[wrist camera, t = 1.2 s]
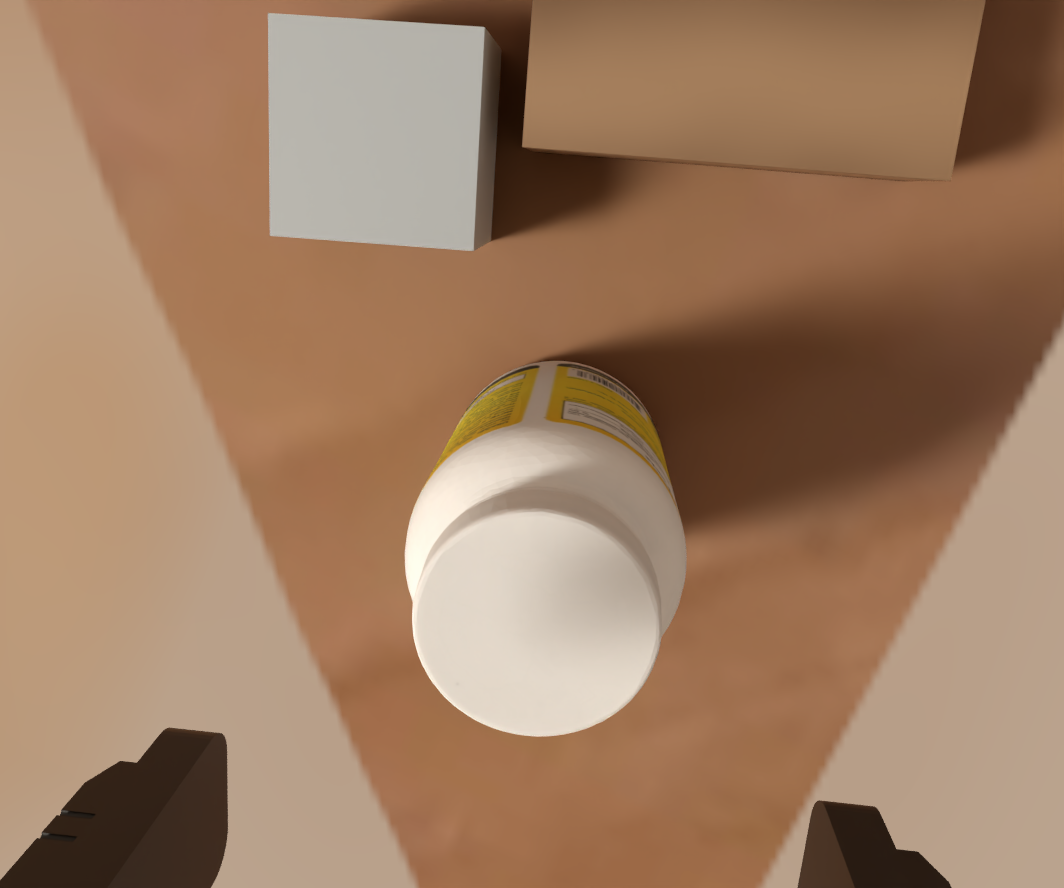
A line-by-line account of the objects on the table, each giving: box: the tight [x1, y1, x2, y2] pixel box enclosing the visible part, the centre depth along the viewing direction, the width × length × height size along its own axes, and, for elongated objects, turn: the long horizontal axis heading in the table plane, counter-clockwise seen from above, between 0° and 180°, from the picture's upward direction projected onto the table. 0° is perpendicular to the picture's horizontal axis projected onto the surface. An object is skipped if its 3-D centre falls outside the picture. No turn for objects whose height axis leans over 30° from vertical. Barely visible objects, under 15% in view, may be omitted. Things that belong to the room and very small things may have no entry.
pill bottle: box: [405, 361, 686, 736], centre depth 23 cm, size 6×6×11 cm
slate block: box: [268, 13, 502, 251], centre depth 24 cm, size 5×5×4 cm
